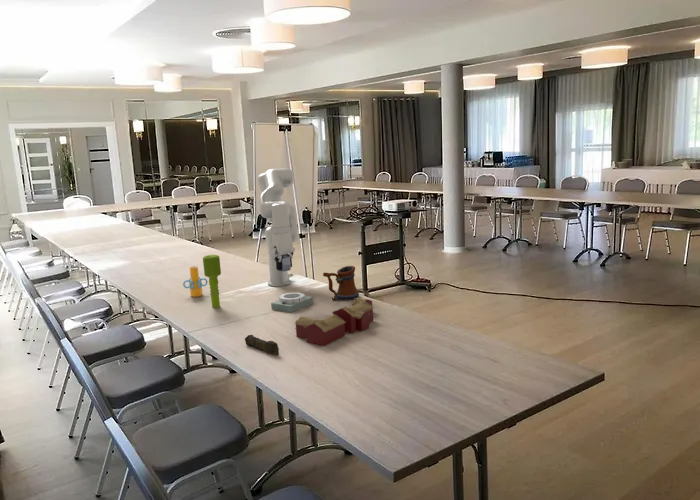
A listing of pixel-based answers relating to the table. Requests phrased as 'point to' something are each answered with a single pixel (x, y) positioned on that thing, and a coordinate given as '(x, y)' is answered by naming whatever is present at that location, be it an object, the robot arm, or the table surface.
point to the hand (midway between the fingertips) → (284, 268)
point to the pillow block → (291, 302)
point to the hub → (285, 263)
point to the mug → (343, 283)
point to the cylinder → (195, 282)
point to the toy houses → (336, 323)
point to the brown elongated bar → (263, 344)
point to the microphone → (213, 276)
